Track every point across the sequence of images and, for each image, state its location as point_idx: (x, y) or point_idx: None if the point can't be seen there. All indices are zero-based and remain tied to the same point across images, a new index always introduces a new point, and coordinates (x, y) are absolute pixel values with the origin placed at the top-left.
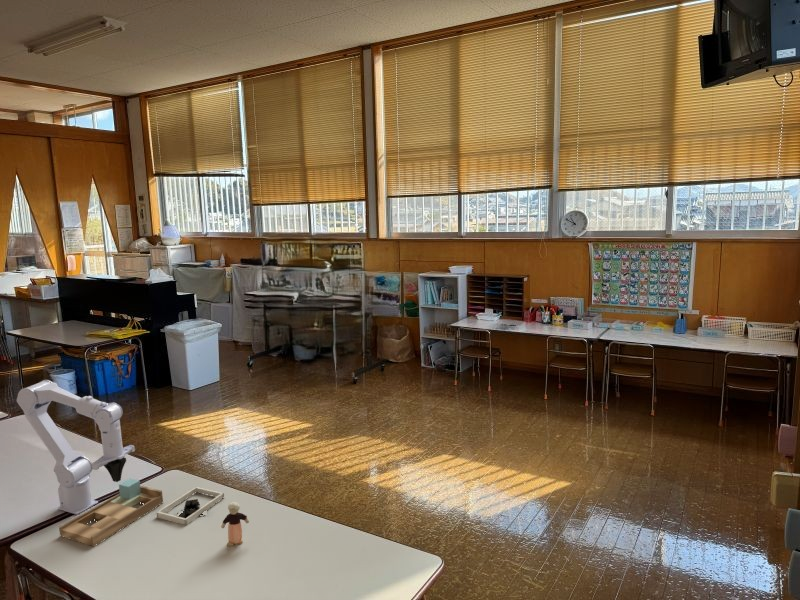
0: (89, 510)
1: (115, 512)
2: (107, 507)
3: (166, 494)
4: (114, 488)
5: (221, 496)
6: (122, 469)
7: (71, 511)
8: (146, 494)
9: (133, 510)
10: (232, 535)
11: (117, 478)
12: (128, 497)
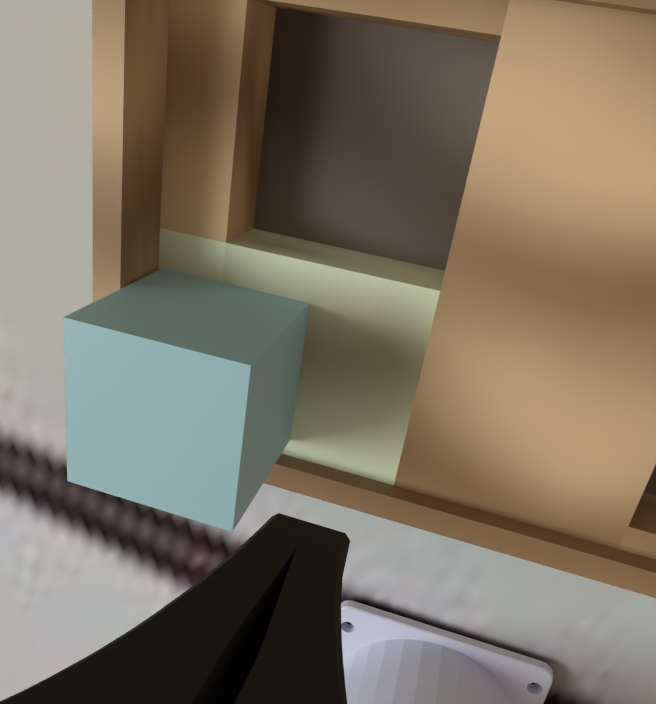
0: (631, 585)
1: (620, 281)
2: (512, 446)
3: (41, 41)
4: (128, 590)
5: None
6: (133, 634)
7: None
8: (169, 178)
9: (551, 58)
10: None
11: (332, 573)
12: (300, 330)
